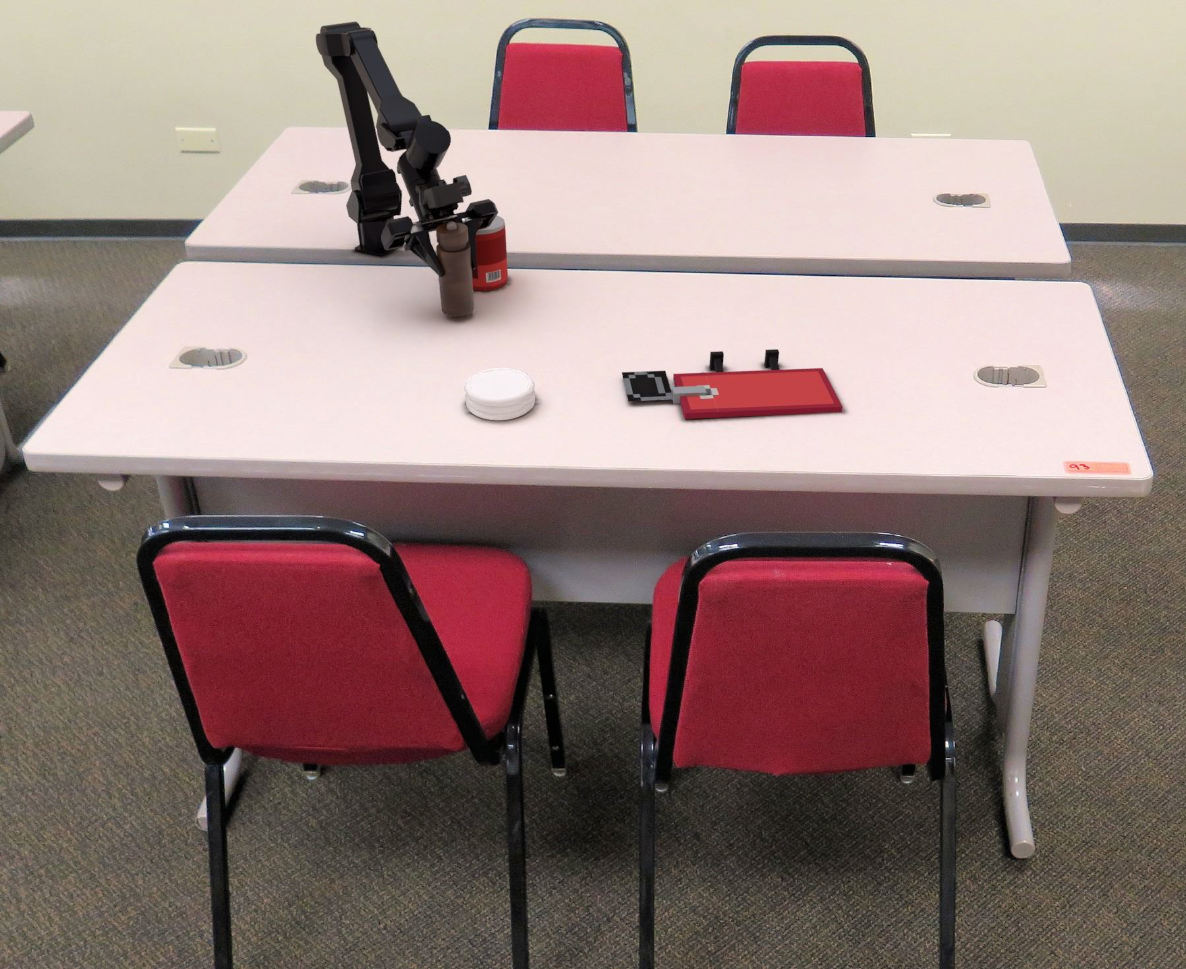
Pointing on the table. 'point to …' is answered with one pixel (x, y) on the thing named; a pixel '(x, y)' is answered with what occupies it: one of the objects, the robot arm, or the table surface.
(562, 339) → the table surface
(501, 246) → the canned food
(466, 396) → the coaster
